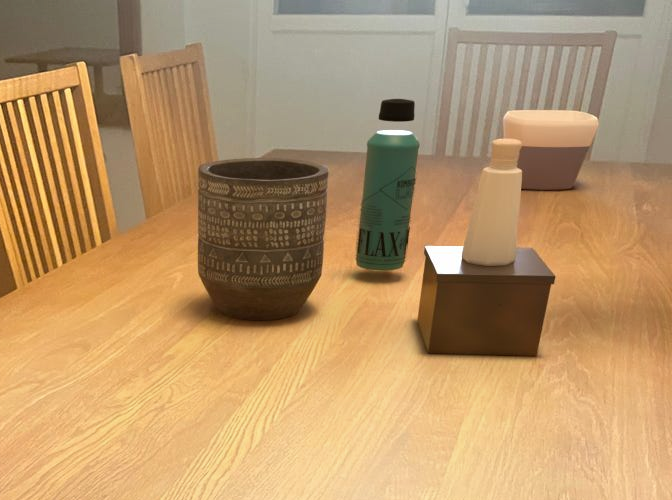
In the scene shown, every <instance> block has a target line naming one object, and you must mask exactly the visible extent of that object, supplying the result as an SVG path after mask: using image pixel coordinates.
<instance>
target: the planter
mask: <svg viewBox="0 0 672 500" xmlns="http://www.w3.org/2000/svg"><path fill="white" fill-rule="evenodd" d="M197 171H198V173H197V175H198V176H197V177H198V179H197V181H198V183H197V184H198V185H197V187H198V190H197V234H198V238H197V274H198V277H199V279H200V281H201V283H202V285H203V286H204V288H205V291H206V292H207V294H208V296H209V298H210V299H211V301H212V302H213V304H214V306H215V307H216V309H217V311H219V312H220V314H223V315H225V316H227V317H231V318H234V319H238V320H246V321H274V320H281V319H286V318H289V317H292V316H294V315H296V314H297V313H299V312H300V310H301V309H302V307H303V306H304V305H305V304H306V302H307V300H308V299H309V297H310V296H311V294H312V292H313V291H314V289H315V288H316V286H317V284H318V283H319V281H320V280H321V279H320V278H321V276H323V275H322V273H323V265H324V251H325V249H324V248H325V232H326V231H325V230H326V220H327V207H328V188H329V187H328V186H329V173H330V169H329V167H328V166H326V165H324V164H321V163H317V162H314V161H307V160H301V159H295V158H283V157H281V158H280V157H246V158H245V157H244V158H231V159H230V158H229V159H221V160H216V161H209V162H205V163H202V164H200V165H199V167H198V170H197Z"/></svg>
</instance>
